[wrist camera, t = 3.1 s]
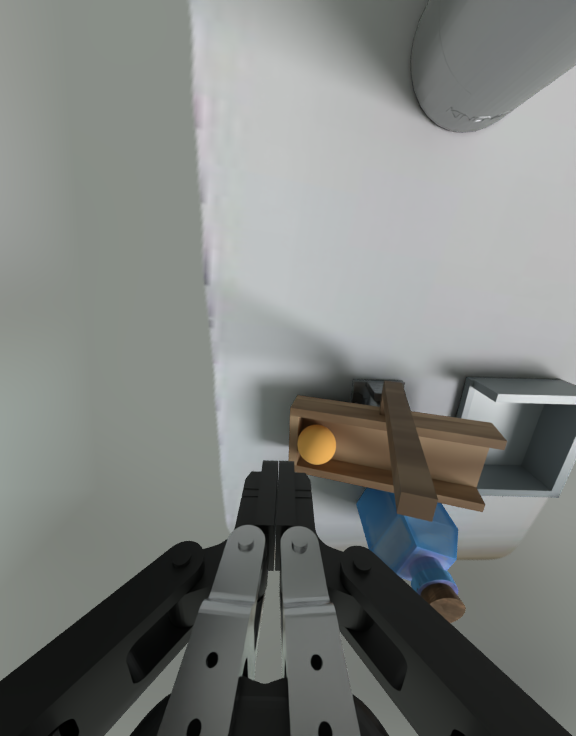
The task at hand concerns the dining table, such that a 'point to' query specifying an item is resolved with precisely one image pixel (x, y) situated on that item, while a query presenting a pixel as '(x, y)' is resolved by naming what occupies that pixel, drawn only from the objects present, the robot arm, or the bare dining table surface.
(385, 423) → the lever
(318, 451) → the ball
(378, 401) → the fulcrum
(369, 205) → the dining table surface
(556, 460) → the tray
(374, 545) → the perfume bottle
